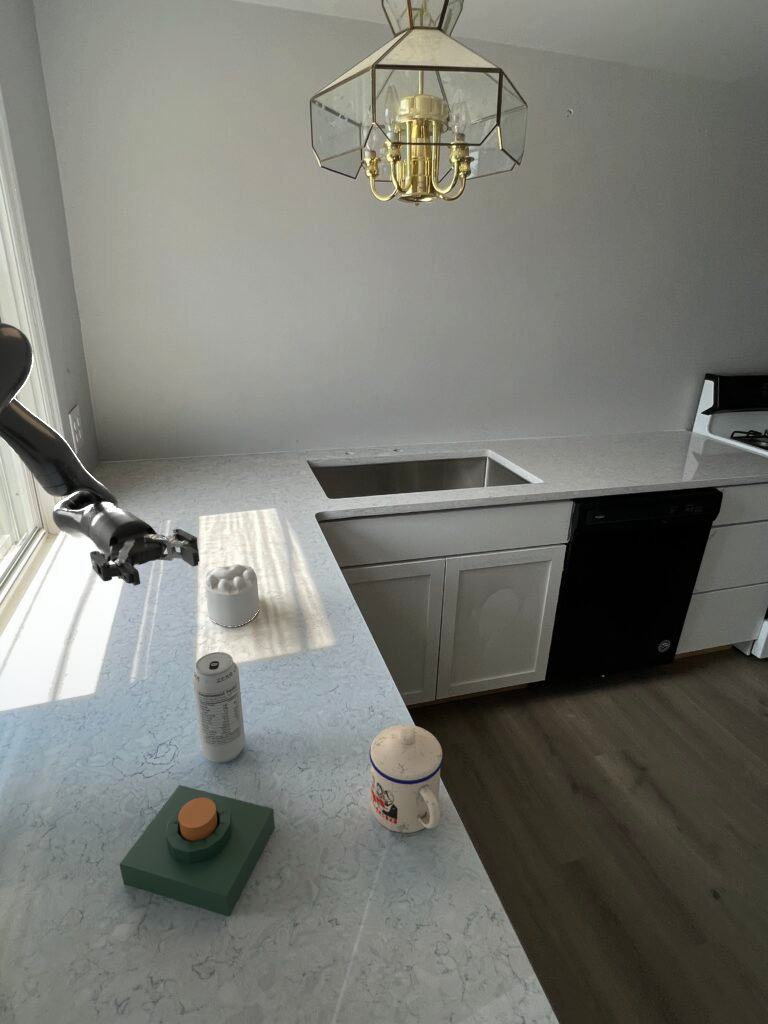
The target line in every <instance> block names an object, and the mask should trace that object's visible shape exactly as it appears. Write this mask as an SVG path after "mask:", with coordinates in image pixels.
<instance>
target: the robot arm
mask: <svg viewBox="0 0 768 1024" xmlns="http://www.w3.org/2000/svg"><path fill="white" fill-rule="evenodd" d="M33 364H34V351H33V347H32V344H31V342H30V340H29V338H28V336H27V335H26V334H25V333H24V332H23V331H22V330H21V329H19V328H18V327H16V326H14V325H12V324H9V323H5V322H0V438H1V439H2V440H3V441H4V442H5V443H6V445H8V446H9V448H10V449H12V451H13V452H14V453H15V454H16V456H17V457H18V458H19V459H20V460H21V461H22V462H23V464H24V465H25V467H26V468H27V469H28V471H29V472H30V473H31V475H32V476H33V478H34V479H35V480H36V481H37V483H38V484H39V485H40V486H41V488H42V489H43V490H44V492H45V493H46V494H48V495H49V496H52V497H57V498H62V497H66V498H64V499H62V500H61V501H59V502H57V504H56V505H55V506H54V508H53V509H52V520H53V522H54V525H55V526H56V527H57V528H58V529H59V530H60V531H61V532H63V534H65V535H67V536H69V537H71V538H74V539H78V540H84V541H90V542H92V543H93V544H94V546H95V547H96V548H97V549H98V550H93V551H90V553H89V557H90V562H91V567H92V570H93V571H94V573H96V574H97V576H98V577H99V578H100V579H101V580H102V581H103V582H110V581H112V580H113V578H115V577H117V579H118V580H119V579H120V580H122V581H124V582H125V583H126V584H128V585H133V587H134V586H139V585H141V577H140V573H139V572H140V571H139V570H138V569H137V568H136V567H138V566H140V565H144V564H146V563H149V562H155V561H168V562H169V561H170V562H171V561H173V560H174V559H181V560H182V561H184V562H185V563H186V564H188V565H190V566H191V567H193V568H195V567H197V566H199V562H200V553H199V546H198V537H197V536H195V535H193V534H191V533H190V532H187V531H184V530H183V529H181V528H175V529H173V530H172V534H170V535H167V536H166V535H164V534H158V532H156V531H155V529H154V528H153V526H151V525H150V524H149V523H148V522H146V521H144V520H142V518H140V517H138V516H137V515H135V514H133V513H132V512H130V511H127V510H125V509H123V508H121V507H119V501H118V498H117V496H116V495H115V493H113V491H111V490H110V489H109V488H108V487H107V486H105V485H104V484H102V483H101V482H100V481H99V480H97V479H96V478H95V477H94V476H92V475H91V474H90V473H89V471H87V470H86V468H85V467H84V466H83V464H82V462H81V461H80V460H79V458H78V457H77V455H76V454H75V452H74V451H73V449H72V448H71V446H70V445H69V443H68V442H67V440H65V439H64V437H63V436H62V435H61V434H60V433H59V432H58V431H56V430H55V429H54V428H52V426H50V425H49V424H48V423H46V422H45V421H44V420H42V419H41V418H40V417H38V416H37V415H36V414H34V413H33V412H32V411H30V410H29V409H28V408H27V407H26V406H24V405H23V404H22V403H21V402H20V401H18V400H17V398H16V396H17V395H18V393H19V392H20V391H21V389H22V388H23V387H24V386H25V384H26V382H27V381H28V379H29V377H30V375H31V371H32V368H33ZM178 548H179V551H180V552H179V551H177V549H178ZM166 552H167V553H166ZM110 562H112V563H111V564H110Z"/></svg>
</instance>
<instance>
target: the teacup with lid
mask: <svg viewBox="0 0 768 1024" xmlns="http://www.w3.org/2000/svg"><path fill="white" fill-rule="evenodd" d="M368 754H369V760H370V807H371V811H372V814H373V815H374V817H375V819H376V820H377V821H378V822H379V824H381V825H382V827H385V828H387V829H388V830H390V831H393V832H397V833H403V834H410V833H415V832H419V831H421V830H424V829H425V828H426V829H428V830H429V829H430V830H431V829H434V828H436V827H437V826H438V825H439V824H440V821H441V809H440V806H439V796H440V781H441V767H442V765H443V762H444V753H443V749H442V746H441V744H440V742H439V740H438V739H437V738H436V736H434V734H432V733H431V732H430V731H428V730H427V729H425V728H422V727H420V726H417V725H412V724H397V725H396V724H395V725H392V726H389V727H387V728H384V729H383V730H382V731H380V732H379V733H378V734H377V735H376V736H375V738H374V739H373V741H372V743H371V745H370V747H369V752H368Z"/></svg>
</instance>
